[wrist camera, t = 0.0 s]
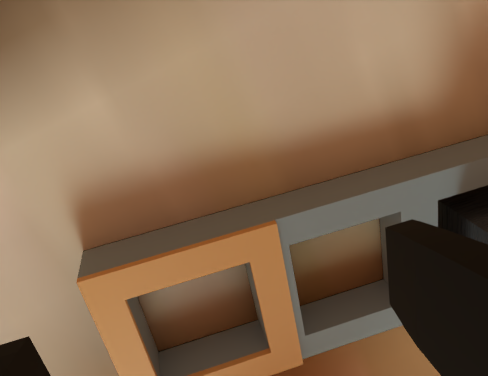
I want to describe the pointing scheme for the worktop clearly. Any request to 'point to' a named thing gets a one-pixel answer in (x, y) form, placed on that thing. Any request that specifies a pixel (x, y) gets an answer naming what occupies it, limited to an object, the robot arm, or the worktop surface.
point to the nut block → (466, 214)
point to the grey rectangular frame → (269, 268)
